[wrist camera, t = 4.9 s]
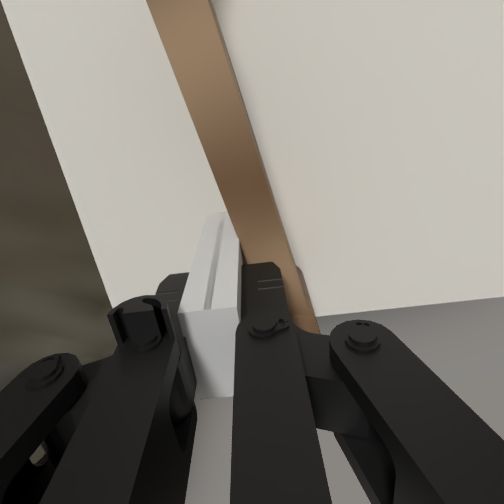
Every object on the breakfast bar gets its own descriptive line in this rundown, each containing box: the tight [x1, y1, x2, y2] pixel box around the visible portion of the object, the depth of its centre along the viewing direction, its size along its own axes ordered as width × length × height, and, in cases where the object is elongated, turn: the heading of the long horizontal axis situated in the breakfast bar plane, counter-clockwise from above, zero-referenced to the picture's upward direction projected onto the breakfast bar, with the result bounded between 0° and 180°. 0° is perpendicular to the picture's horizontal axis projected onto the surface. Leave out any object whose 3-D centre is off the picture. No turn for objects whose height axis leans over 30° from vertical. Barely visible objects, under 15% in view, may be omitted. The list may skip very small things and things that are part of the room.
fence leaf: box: [146, 0, 320, 334], centre depth 12 cm, size 13×2×5 cm, turn 19°
